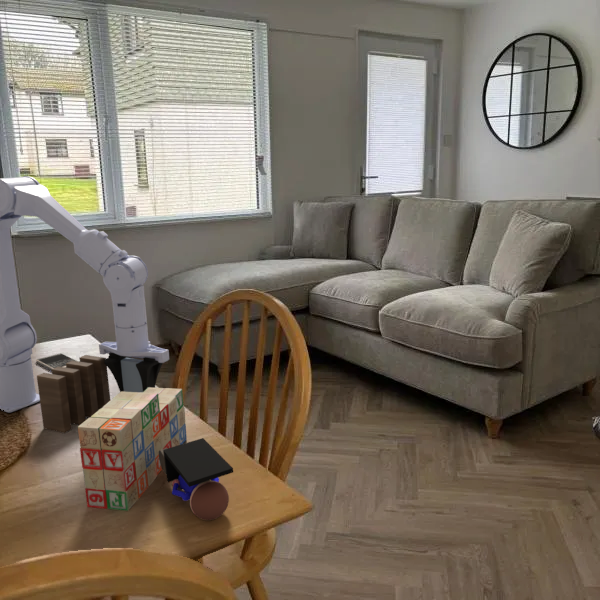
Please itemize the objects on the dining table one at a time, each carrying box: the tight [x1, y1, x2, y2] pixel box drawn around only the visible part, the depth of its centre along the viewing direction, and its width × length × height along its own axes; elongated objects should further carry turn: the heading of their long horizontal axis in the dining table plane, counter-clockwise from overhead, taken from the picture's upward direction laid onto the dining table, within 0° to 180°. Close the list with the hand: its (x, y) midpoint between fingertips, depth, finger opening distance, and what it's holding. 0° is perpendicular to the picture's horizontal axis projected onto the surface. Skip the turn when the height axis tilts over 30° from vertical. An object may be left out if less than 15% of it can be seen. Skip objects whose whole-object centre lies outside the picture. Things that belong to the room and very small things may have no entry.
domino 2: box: [51, 366, 86, 426], centre depth 108 cm, size 2×5×10 cm, turn 66°
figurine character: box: [159, 437, 234, 521], centre depth 83 cm, size 7×8×15 cm
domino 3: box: [66, 360, 99, 418], centre depth 111 cm, size 2×5×10 cm, turn 66°
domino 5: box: [121, 357, 144, 392], centre depth 112 cm, size 2×5×10 cm, turn 66°
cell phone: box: [35, 353, 77, 372], centre depth 139 cm, size 6×11×1 cm, turn 45°
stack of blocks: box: [77, 387, 188, 512], centre depth 90 cm, size 21×6×12 cm, turn 169°
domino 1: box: [36, 372, 72, 434], centre depth 105 cm, size 2×5×10 cm, turn 66°
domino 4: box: [79, 354, 111, 410], centre depth 114 cm, size 2×5×10 cm, turn 66°
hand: (137, 393), depth 112 cm, fingers closed on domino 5, 5 cm apart
